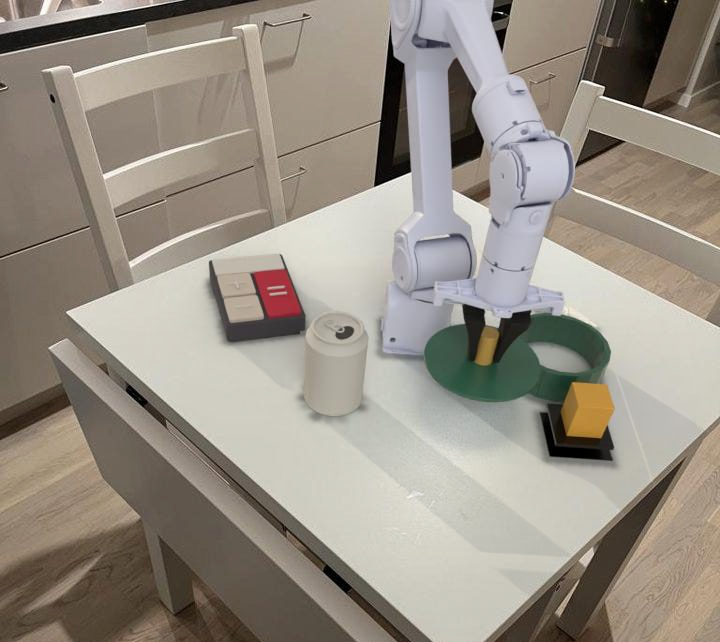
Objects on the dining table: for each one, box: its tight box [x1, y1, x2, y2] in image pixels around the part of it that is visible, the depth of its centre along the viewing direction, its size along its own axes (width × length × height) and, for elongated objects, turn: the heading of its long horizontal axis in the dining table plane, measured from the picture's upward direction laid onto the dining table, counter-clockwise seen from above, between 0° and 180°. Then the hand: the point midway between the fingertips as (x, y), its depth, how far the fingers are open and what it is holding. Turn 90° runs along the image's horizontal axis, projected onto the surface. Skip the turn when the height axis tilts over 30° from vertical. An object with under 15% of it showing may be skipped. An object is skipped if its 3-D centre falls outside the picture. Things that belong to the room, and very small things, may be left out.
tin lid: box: [423, 323, 541, 403], centre depth 87 cm, size 14×14×5 cm
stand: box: [539, 403, 615, 462], centre depth 93 cm, size 8×8×2 cm
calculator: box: [208, 253, 306, 343], centre depth 105 cm, size 11×4×15 cm
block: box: [561, 382, 616, 438], centre depth 90 cm, size 4×4×5 cm
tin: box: [519, 312, 612, 403], centre depth 100 cm, size 13×13×5 cm
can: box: [303, 310, 369, 417], centre depth 90 cm, size 8×8×12 cm
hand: (482, 356), depth 88 cm, fingers closed on tin lid, 2 cm apart
